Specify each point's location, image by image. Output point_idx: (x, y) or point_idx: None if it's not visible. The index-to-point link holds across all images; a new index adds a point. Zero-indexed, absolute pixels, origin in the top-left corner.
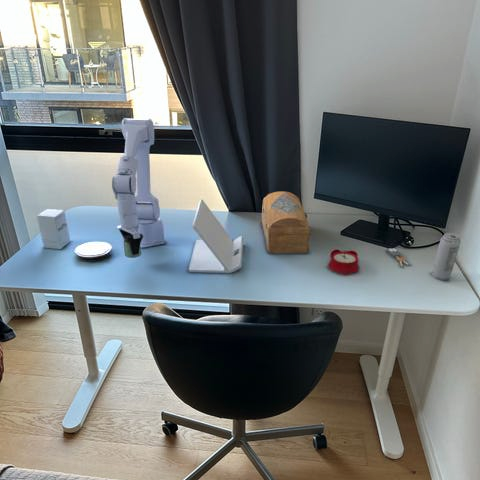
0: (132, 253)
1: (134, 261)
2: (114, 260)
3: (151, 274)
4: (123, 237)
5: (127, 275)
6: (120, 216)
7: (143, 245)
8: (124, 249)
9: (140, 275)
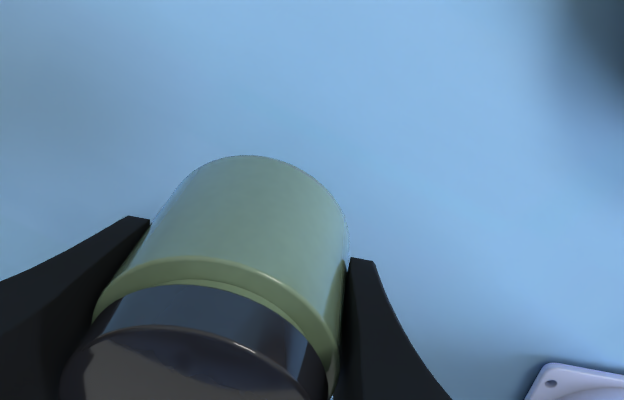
0: (116, 222)
1: (379, 213)
2: (537, 85)
3: (88, 200)
4: (220, 345)
5: (158, 36)
6: None
7: (563, 387)
8: (239, 199)
9: (107, 128)
